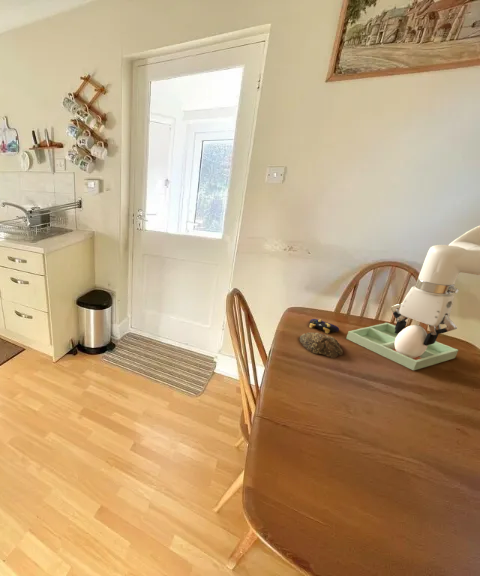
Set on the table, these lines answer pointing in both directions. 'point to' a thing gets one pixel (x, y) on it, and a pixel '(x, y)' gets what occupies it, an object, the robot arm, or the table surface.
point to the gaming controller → (323, 326)
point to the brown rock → (321, 344)
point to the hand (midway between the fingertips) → (412, 338)
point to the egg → (411, 341)
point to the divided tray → (384, 344)
